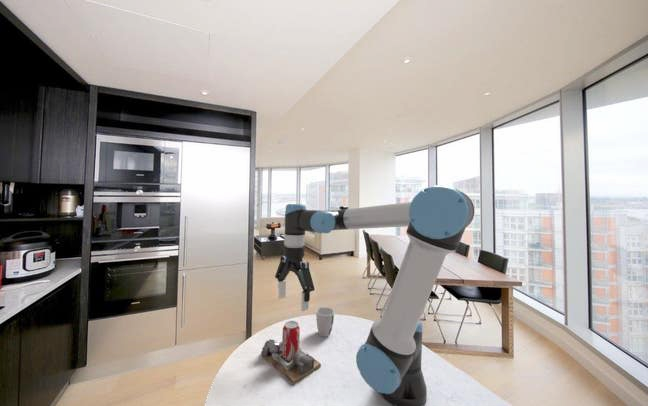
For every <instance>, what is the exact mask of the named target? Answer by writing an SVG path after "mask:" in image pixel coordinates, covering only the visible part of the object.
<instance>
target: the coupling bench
mask: <svg viewBox="0 0 648 406" xmlns="http://www.w3.org/2000/svg"><path fill="white" fill-rule="evenodd" d="M279 343H282V341H280V342H279ZM260 353H261V356H262V350H261V352H260ZM263 358H264V359H265V360H266V361H267V362H268V363H270V364H271V365H272V366H273V367H274V368H275V369H276V370H277V371H278V372H279V373H280V374H281V375H283V377H284V378H285V379H286V380H288V381H289V382H290V384H292V385H293V386H294V385H296V384H297V383H299V382H300V381H301V380H303V379H304V378H306V377H308V376H309V375H311V374H312V373H314V372H315V371H317V370H318V369H320V368H321V367H322V366H321V365H322V364H321V362H319V361H318V360H316V359H315V357H313V356H312V355H310V354H309V353H308V352H307V351H305V350H304V349H303V348H302V347H301V346H299V351H298V352H296V353H295V355H294V357H293V360H292V361H286V360H284V359H283V358H282V348H281V350H280V355H278V354H275V353H272V354H270V355H269V356H268V357H267V358H266V357H263Z"/></svg>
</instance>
